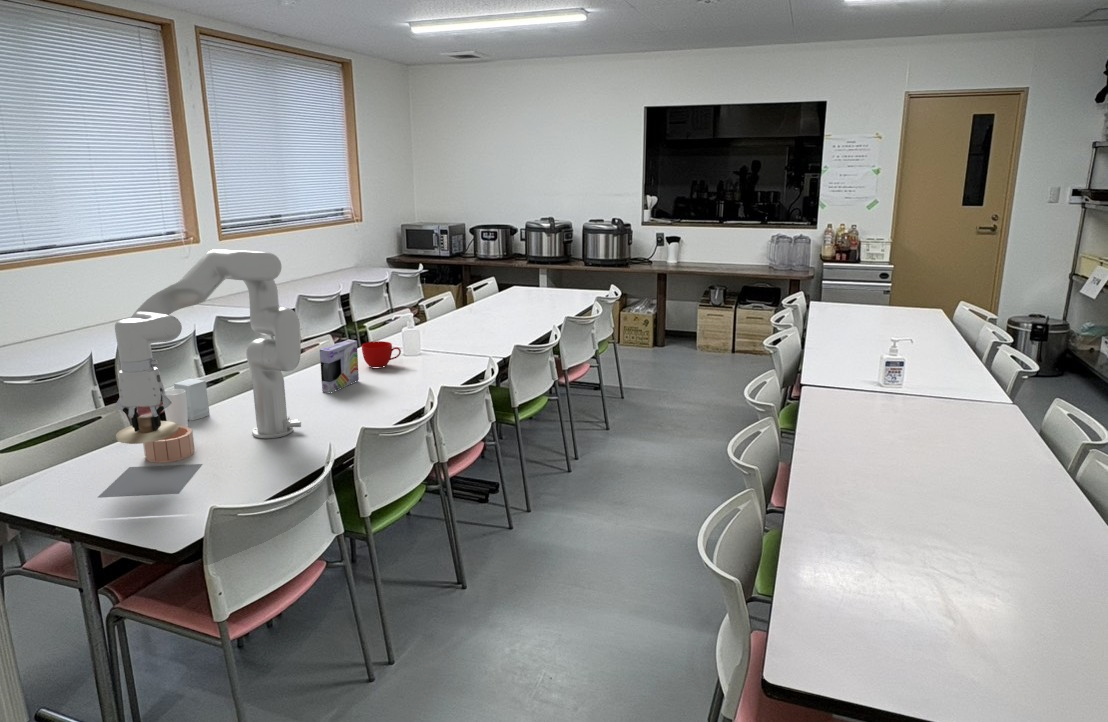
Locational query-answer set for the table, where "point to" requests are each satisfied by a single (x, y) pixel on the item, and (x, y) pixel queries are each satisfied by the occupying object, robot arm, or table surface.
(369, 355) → the ceramic cup
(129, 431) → the lid
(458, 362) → the table surface
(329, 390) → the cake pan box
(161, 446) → the bowl
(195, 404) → the supplement box
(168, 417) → the drinking glass
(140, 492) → the mat
